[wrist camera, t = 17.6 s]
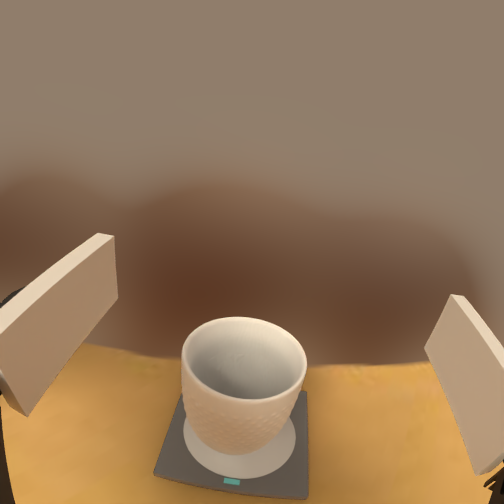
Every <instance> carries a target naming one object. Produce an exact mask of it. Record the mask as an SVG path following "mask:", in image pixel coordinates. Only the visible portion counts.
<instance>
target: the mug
mask: <svg viewBox="0 0 504 504" xmlns="http://www.w3.org/2000/svg"><path fill="white" fill-rule="evenodd" d="M306 371H307V359H306V355H305V352H304V350H303V349H302V347H301V345H300V343H299V342H298V341H297V340H296V339H295V338H294V337H293V336H292V335H291V334H290V333H288V332H287V331H285V330H284V329H282V328H281V327H278V326H276V325H274V324H272V323H269V322H266V321H263V320H259V319H255V318H247V317H227V318H221V319H216V320H212V321H210V322H207V323H205V324H203V325H201V326H199V327H198V328H196V329H195V330H194V331H193V332H192V333H191V334H190V335H189V336H188V338H187V339H186V341H185V343H184V345H183V349H182V369H181V374H182V382H181V384H182V395H183V403H184V409H185V412H186V417H187V418H188V421H189V424H190V425H191V427H192V430H193V431H194V432H195V433H196V435H197V436H198V437H199V439H200V440H201V441H202V442H204V444H205V445H207V446H208V447H210V448H211V449H213V450H215V451H217V452H219V453H223V454H227V455H245V454H251V453H252V452H254V451H258V450H259V449H260V448H263V447H264V446H265V445H266V444H268V443H269V441H271V440H272V439H273V438H274V437H275V436H276V435H277V434H278V433H279V431H280V430H281V429H282V428H283V425H284V424H285V423H286V422H287V419H288V417H289V416H290V414H291V411H292V409H293V408H294V405H295V402H296V400H297V399H298V394H299V392H300V390H301V386H302V384H303V381H304V378H305V375H306Z"/></svg>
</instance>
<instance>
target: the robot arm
mask: <svg viewBox="0 0 504 504" xmlns="http://www.w3.org/2000/svg"><path fill="white" fill-rule="evenodd" d="M117 299H118V290H117V277H116V262H115V243H114V236H111V235H106V234H101V233H97V234H96V235H94V236H93V237H91V238H90V239H88V240H87V241H86V242H84V243H83V244H81V245H80V246H79V247H77V248H76V249H74V250H73V251H72V252H70V253H69V254H68V255H66V256H65V257H64V258H62V259H61V260H60V261H58V262H57V263H56V264H54V265H53V266H52V267H50V268H49V269H48V270H47V271H45V272H44V273H43V274H42V275H40V276H39V277H38V278H36V279H35V280H34V281H33V282H31V283H30V284H29V285H28V286H25V287H23V288H21V289H19V290H17V291H14V292H13V293H11V294H10V295H9V296H8V297H6V299H4V300H3V301H2V303H0V395H1V394H3V396H4V398H5V399H6V401H7V403H8V404H9V406H10V407H12V408H13V409H15V410H16V411H18V412H19V413H21V414H23V415H24V416H26V417H28V416H29V414H30V413H31V411H32V410H33V408H34V407H35V406H36V404H37V403H38V401H39V400H40V398H41V397H42V396H43V394H44V393H45V391H46V390H47V389H48V387H49V386H50V384H51V383H52V382H53V380H54V379H55V378H56V376H57V375H58V374H59V372H60V371H61V370H62V368H63V367H64V366H65V364H66V363H67V362H68V360H69V359H70V358H71V356H72V355H73V354H74V352H75V351H76V350H77V349H78V347H79V346H80V345H81V343H82V342H83V341H84V339H85V338H86V337H87V336H88V335H89V333H90V332H91V331H92V330H93V328H94V327H95V326H96V324H97V323H98V322H99V321H100V320H101V318H102V317H103V316H104V315H105V314H106V312H107V311H108V310H109V308H110V307H111V306H112V305H113V304H114V302H115V301H116V300H117ZM424 349H425V351H426V353H427V355H428V357H429V360H430V362H431V364H432V366H433V368H434V370H435V372H436V375H437V377H438V379H439V381H440V384H441V386H442V388H443V390H444V393H445V395H446V397H447V400H448V402H449V405H450V407H451V410H452V412H453V414H454V417H455V420H456V422H457V425H458V427H459V430H460V433H461V435H462V438H463V441H464V444H465V446H466V449H467V452H468V455H469V458H470V461H471V464H472V467H473V470H474V473H475V476H478V475H481V474H484V473H488V472H490V471H492V470H493V469H494V468H495V467H496V466H498V465H499V464H500V463H501V462H502V461H503V463H504V348H503V347H502V346H501V344H500V343H499V341H498V340H497V338H496V337H495V336H494V334H493V333H492V332H491V330H490V329H489V328H488V326H487V325H486V324H485V322H484V321H483V320H482V318H481V317H480V316H479V314H478V313H477V312H476V311H475V309H474V308H473V307H472V306H471V304H470V303H469V302H468V301H467V300H466V298H465V297H464V296H459V295H452V294H451V295H450V297H449V299H448V301H447V304H446V306H445V308H444V310H443V312H442V314H441V317H440V318H439V320H438V322H437V324H436V326H435V328H434V330H433V332H432V334H431V336H430V338H429V340H428V342H427V343H426V345H425V347H424ZM493 481H496V482H495V483H494V484H492V485H491V486H490V487H489V488H488V489H490V490H492V491H493V492H492V495H491V498H490V501H489V504H504V467H503V468H502V469H501V470H500V471H498V472H497V473H496V474H495V475H494V476H492V477H491V478H490V479H489V480H487V481H486V482H485V484H484V486H483V487H486V486H488V485H489V484H490V483H492V482H493ZM0 504H15V501H14V497H13V492H12V488H11V483H10V478H9V473H8V468H7V462H6V455H5V448H4V440H3V431H2V419H1V407H0Z"/></svg>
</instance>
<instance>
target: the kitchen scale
mask: <svg viewBox="0 0 504 504" xmlns="http://www.w3.org/2000/svg"><path fill="white" fill-rule="evenodd" d="M153 473H154V476H158V477H161V478H165V479H168V480H172V481H176V482H180V483H184V484H188V485H193V486H197V487H202V488H207V489H212V490H217V491H223V492H229V493H236V494H243V495H250V496H259V497H269V498H282V499H303V500H306V499H307V498H308V420H307V392H305V391H300V392H299V394H298V399H297V400H296V402H295V405H294V408H293V409H292V411H291V414H290V416H289V417H288V419H287V422H286V423H285V424H284V425H283V428H282V429H281V430H280V431H279V433H278V434H277V435H276V436H275V437H274V438H273V439H272V440H271V441H269V443H268V444H266V445H265V446H264V447H263V448H260V449H259V450H258V451H254V452H252V453H251V454H245V455H227V454H223V453H219V452H217V451H215V450H213V449H211V448H210V447H208V446H207V445H205V444H204V442H202V441H201V440H200V439H199V437H198V436H197V435H196V433H195V432H194V431H193V430H192V427H191V425H190V424H189V421H188V418H187V417H186V412H185V409H184V403H183V395H182V393H181V396H180V399H179V402H178V404H177V407H176V410H175V413H174V415H173V418H172V421H171V424H170V427H169V429H168V432H167V435H166V438H165V441H164V443H163V446H162V449H161V452H160V455H159V458H158V460H157V463H156V466H155V469H154V472H153Z"/></svg>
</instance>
